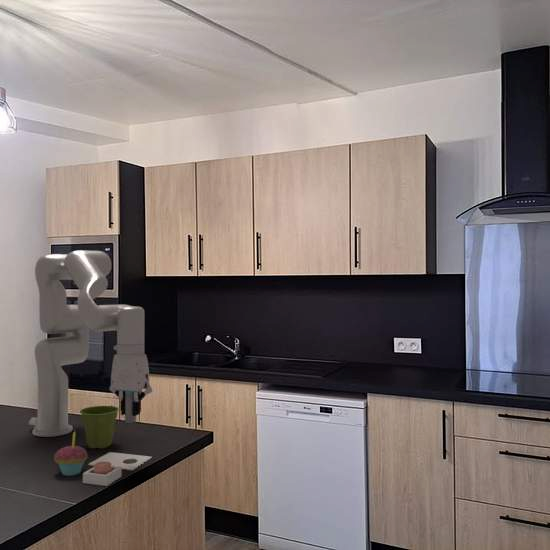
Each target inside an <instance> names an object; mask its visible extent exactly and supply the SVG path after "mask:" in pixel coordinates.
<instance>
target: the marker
mask: <svg viewBox="0 0 550 550" xmlns="http://www.w3.org/2000/svg"><path fill="white" fill-rule="evenodd" d="M133 402H134V392H133V391H125V415H124V423H126V424H133V423H134V424H135V423H136V422H137V415H136V416H133V415H132V403H133Z"/></svg>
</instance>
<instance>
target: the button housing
mask: <svg viewBox="0 0 550 550" xmlns="http://www.w3.org/2000/svg"><path fill="white" fill-rule="evenodd" d="M121 468H122V467H116V466H111V472H109V473H108V474H106V475H104V474H96V473H94V466H92V468H91V467H90V468H89V469H88V470H86V471H84V472H82V483H83V484H87V485H88V484H89V485H96V486H103V487H104V486H105V487H107V486H110V485H111V484H112V483H113V482H115V481H116V480H119V478H122V469H121Z"/></svg>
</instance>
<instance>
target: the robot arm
mask: <svg viewBox="0 0 550 550" xmlns="http://www.w3.org/2000/svg"><path fill="white" fill-rule="evenodd" d="M111 271H112V260H111V258H110V257H109V255H108V254H107V253H106V252H104V251H101V250H83V249H80V250H79V249H78V250H73V251H71V252H68V253H52V254H50V253H49V254H45V255H42V256H40V257H39V258H38V259H37V261H36V264H35V268H34V274H35V275H34V276H35V281H36V284H37V288H38V293H39V300H38V301H39V302H38V303H39V305H38V306H39V312H38V313H39V327H40V330H41V331H42V332H43V333H44V334H49V335H50V334H51V335H52V334H55V335H56V334H66V333H67V334H68V333H69V335H70V336H58V337H49V338H44V339H42V340H40V341H38V342H37V343H36V344H35V347H34V358H35V363H36V369H37V370H36V371H37V417H31V419H30V420H29V421H28V425H29V426H30V425H31V426H34V428H33V429H32V435H33V436H36V437H42V438H51V437H52V438H53V437H60V436H64V435H68V434H70V433H72V431H73V430H74V429H73V425H71V424H69V379H68V375H67V373H66V372H65V370H64V369H63V368H62V366H68V365H74V364H81V363H84V362H85V361H86V360H87V358H88V356H89V352H90V351H89V350H90V330H91V331H93V332H99V333H100V332H111V331H116V335H117V336H116V339H117V341H116V345H113V350H115V351H116V354H114V356H113V359H112V366H111V371H110V372H111V374H110V386H109V391H110V392H112V393H113V394H115V396H116V397H117V398H118V401H119V403H120V406H119V407H120V408H119V411H120V415H121V416H125V391H133V392H134V402H133V403H132V415H133V416H136V417H137V416H138V415H140V414H141V412H142V400H143V399H144V398H145V397H146V396H147V395H149V394H151V393H152V392H153V388H152V386H151V384H150V369H149V361H148V357H147V354H145V309H144V308H143V307H141V306H134V305H129V304H125V303H124V304H122V303H121V304H99V305H97V303H96V302H95V299H96V298H98V297H101V295H102V294H104V293H105V291H106V290H107V289H108V284H109V283H108V279H107V277H106V276H108V275H109V274H110V272H111ZM60 280H61V281H62V280H63V281H67V280H68V281H69V280H70V281H73V282H74V283H75V285H76V286H77V288H78V290H79V291H80V292H79V294H78V296H77V304H67V303H68V301H67V290H66V288H65V287H64V285H63V284H62V282H61V281H60ZM143 390H144V391H143Z"/></svg>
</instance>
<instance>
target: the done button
mask: <svg viewBox="0 0 550 550" xmlns="http://www.w3.org/2000/svg"><path fill="white" fill-rule="evenodd" d="M93 467H94V473H96V474H104V475H106V474H108V473H109V472H111V463H110V462H98V463H95V464H94V466H93Z"/></svg>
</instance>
